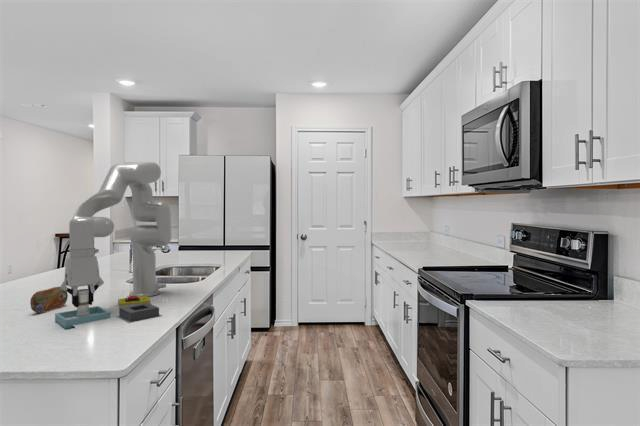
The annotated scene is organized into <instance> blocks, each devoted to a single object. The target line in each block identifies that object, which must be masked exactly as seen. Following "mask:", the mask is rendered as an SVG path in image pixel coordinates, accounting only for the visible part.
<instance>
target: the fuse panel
mask: <svg viewBox="0 0 640 426" xmlns="http://www.w3.org/2000/svg"><path fill="white" fill-rule="evenodd" d="M118 308H119V307H118ZM118 312H119V313H118V315H115V317H116V318H118V319H121V320H122V321H124V322H126V323H128V324H132V323H135V322H140V321H146V320H150V319H155V318H159V317H160V318H161V317H163V315H162V314H160V307H158V306H156V305H153V304H152V303H151V304H148V303H143V304H138V305H132V306H126V307H121V308H119V311H118Z"/></svg>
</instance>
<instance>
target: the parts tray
mask: <svg viewBox="0 0 640 426" xmlns="http://www.w3.org/2000/svg"><path fill="white" fill-rule="evenodd" d="M73 317H74V318H73ZM107 319H111V312H110V311H109V310H107V309H105V308H103V307H101V306H98V305H97V306H91V307H90V306H89V316H83V317H77V309H74V310H68V311H61V312H56V313H54V322H55V323H56V324H57V323H58V324H57V325H58V326H61V327H62V328H63V329H64V330H70V329H73V328H74V329H75V328H76V325H80V324H86V323H90V322H91V323H92V322H95V321H100V320H101V321H103V320H107ZM74 325H75V326H74Z"/></svg>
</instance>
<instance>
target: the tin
mask: <svg viewBox="0 0 640 426" xmlns="http://www.w3.org/2000/svg"><path fill="white" fill-rule="evenodd" d="M68 294H69V293H68V292H67V291H64V290H62V289H60V286H54V287H51V288H46V289H43V290H39V291H36V292H35V293H33V295H32V296H31V298H30V301H29V302H30V304H29V305H30V309H31V311H33V312H34V313H37V314H38V313H39V314H45V313H48V312H47V311H49V312H51V311H50V310H52V311H55V310H57V308H58V309H60V308H62V307H64V306H65V305H66V303H67V301H68V298H69V297H68ZM54 309H55V310H54Z"/></svg>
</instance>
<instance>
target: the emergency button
mask: <svg viewBox="0 0 640 426" xmlns="http://www.w3.org/2000/svg"><path fill="white" fill-rule="evenodd" d="M143 303H148V304H151V305H152V301H151V298H150V296H143V297H137V296H128V297H125V298H118V302H117V304H116V305H114V306H113V307H114V308H115V307H118V308H121V307H126V306H132V305H138V304H143Z"/></svg>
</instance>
